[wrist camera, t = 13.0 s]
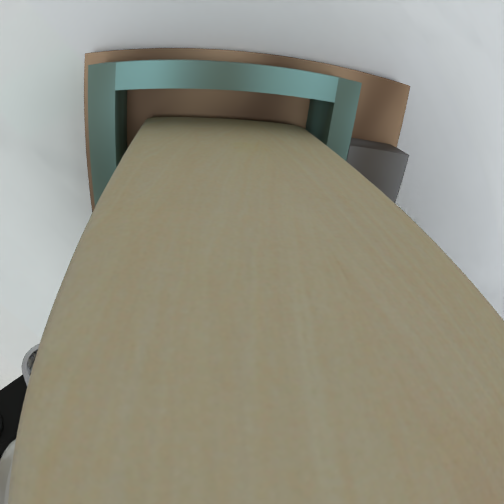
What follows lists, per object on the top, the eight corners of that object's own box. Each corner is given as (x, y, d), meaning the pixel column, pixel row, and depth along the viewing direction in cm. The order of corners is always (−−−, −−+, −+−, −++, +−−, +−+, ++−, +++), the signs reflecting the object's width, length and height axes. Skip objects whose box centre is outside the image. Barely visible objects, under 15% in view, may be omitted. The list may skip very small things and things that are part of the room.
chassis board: (396, 82, 17) (442, 95, 13) (349, 261, 25) (375, 300, 21) (92, 53, 13) (64, 54, 10) (107, 267, 21) (96, 313, 17)
